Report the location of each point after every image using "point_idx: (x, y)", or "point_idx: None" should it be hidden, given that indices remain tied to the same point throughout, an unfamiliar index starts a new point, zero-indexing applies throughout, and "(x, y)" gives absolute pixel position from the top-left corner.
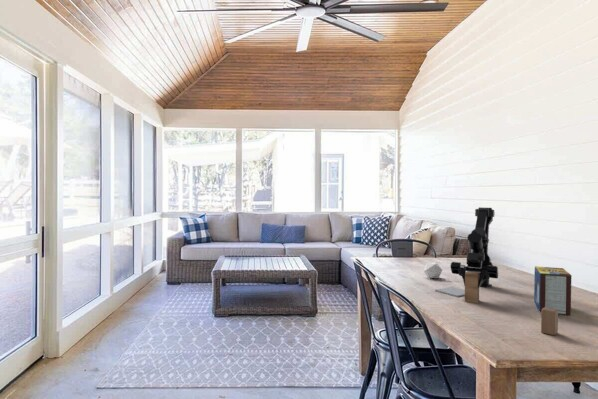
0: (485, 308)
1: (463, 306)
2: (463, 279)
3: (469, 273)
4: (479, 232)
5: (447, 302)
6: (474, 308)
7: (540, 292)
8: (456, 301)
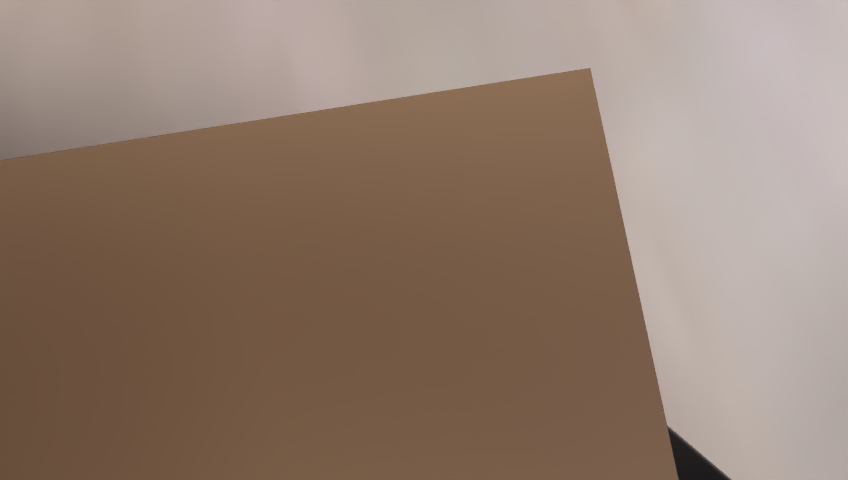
0: (82, 139)
1: (413, 9)
2: (694, 454)
3: (266, 233)
4: None
5: (729, 57)
6: (234, 19)
7: None
8: (632, 239)
